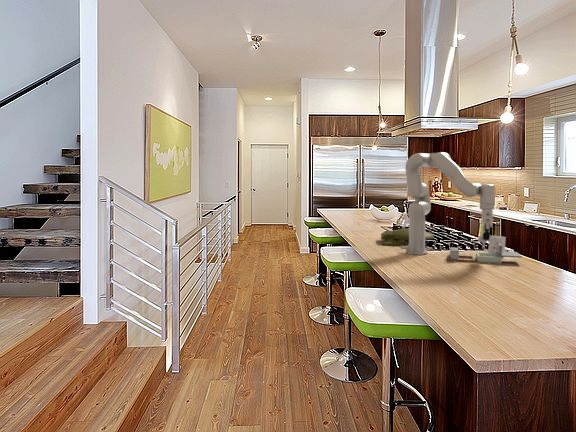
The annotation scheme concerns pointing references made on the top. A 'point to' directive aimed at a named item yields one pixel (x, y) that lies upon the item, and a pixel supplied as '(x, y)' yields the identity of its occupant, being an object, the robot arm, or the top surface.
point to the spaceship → (400, 237)
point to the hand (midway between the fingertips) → (485, 238)
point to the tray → (462, 259)
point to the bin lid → (505, 254)
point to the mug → (493, 243)
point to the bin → (488, 258)
